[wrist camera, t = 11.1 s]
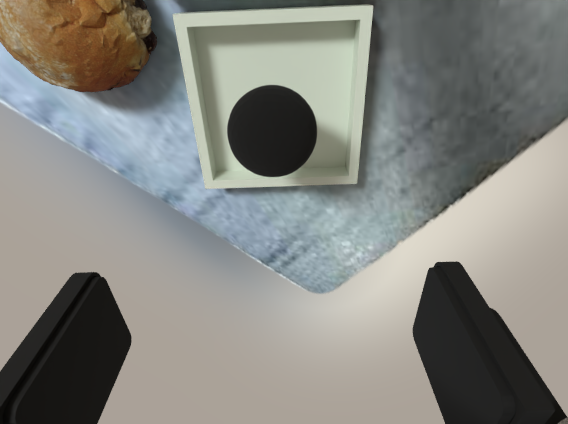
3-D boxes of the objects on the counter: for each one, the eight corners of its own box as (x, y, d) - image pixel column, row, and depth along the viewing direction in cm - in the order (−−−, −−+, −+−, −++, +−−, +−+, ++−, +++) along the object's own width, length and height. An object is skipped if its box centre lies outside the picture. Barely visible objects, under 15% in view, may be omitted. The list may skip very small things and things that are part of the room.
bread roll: (83, -78, 25) (-50, -143, 18) (186, -2, 24) (88, -41, 17) (57, 48, 30) (-56, 36, 23) (143, 117, 29) (52, 125, 22)
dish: (365, 4, 25) (373, 5, 23) (352, 171, 32) (357, 183, 30) (181, 12, 25) (172, 14, 23) (210, 176, 32) (205, 188, 30)
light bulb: (277, 148, 30) (272, 209, 22) (227, 102, 28) (199, 150, 20) (326, 101, 28) (341, 150, 20) (275, 46, 26) (266, 75, 17)
